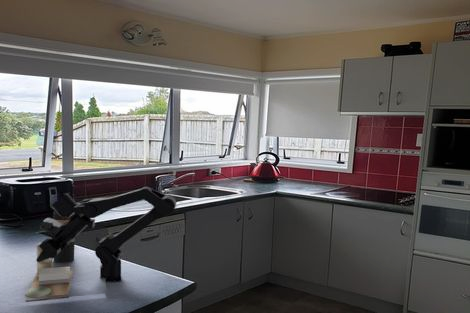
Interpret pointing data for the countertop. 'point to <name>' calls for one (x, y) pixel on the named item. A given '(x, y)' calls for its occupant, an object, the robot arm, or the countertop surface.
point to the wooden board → (48, 290)
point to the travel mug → (68, 251)
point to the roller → (44, 263)
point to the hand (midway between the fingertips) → (40, 258)
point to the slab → (54, 276)
